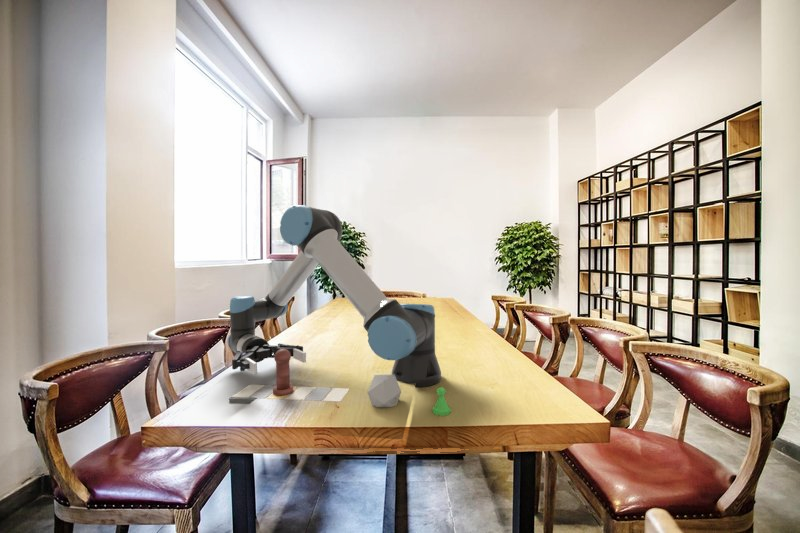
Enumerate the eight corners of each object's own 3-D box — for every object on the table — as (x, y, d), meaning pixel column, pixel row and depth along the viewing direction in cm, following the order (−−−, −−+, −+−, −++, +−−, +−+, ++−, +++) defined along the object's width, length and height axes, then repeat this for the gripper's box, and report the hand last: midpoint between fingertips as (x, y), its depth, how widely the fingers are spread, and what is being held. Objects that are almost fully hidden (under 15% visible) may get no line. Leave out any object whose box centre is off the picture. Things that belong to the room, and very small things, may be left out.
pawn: (296, 388, 95) (295, 346, 94) (287, 396, 90) (287, 351, 89) (278, 388, 95) (278, 346, 95) (269, 395, 90) (268, 351, 90)
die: (389, 421, 79) (409, 383, 82) (357, 400, 80) (379, 364, 83) (389, 418, 87) (408, 383, 90) (361, 399, 88) (380, 366, 91)
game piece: (441, 417, 79) (440, 391, 79) (428, 410, 83) (428, 386, 82) (454, 412, 82) (454, 387, 82) (441, 406, 85) (441, 382, 85)
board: (351, 391, 95) (351, 387, 95) (340, 407, 85) (340, 402, 85) (250, 387, 99) (250, 383, 99) (229, 402, 89) (229, 397, 89)
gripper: (291, 352, 116) (322, 366, 101) (209, 369, 100) (232, 388, 84) (290, 330, 116) (322, 341, 101) (209, 343, 99) (231, 358, 84)
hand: (281, 362), depth 92 cm, fingers open, 13 cm apart
